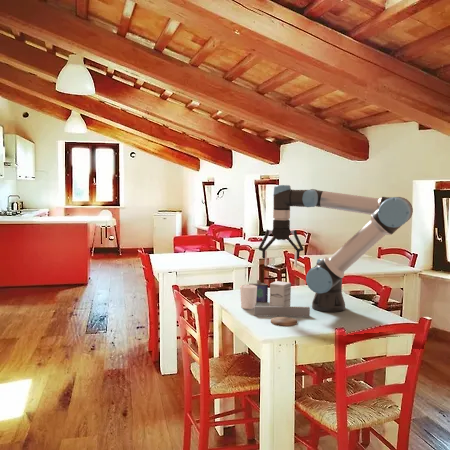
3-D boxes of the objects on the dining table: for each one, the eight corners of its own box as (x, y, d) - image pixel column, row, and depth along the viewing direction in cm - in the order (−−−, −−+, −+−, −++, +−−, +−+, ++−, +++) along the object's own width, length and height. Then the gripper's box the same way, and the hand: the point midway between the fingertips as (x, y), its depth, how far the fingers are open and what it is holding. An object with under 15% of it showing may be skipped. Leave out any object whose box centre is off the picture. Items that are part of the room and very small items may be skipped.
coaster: (299, 320, 211) (299, 318, 211) (293, 327, 201) (293, 325, 201) (274, 317, 215) (274, 315, 215) (267, 324, 205) (267, 322, 205)
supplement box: (268, 310, 227) (269, 283, 226) (276, 307, 233) (277, 280, 232) (283, 312, 223) (283, 285, 222) (290, 309, 229) (291, 282, 228)
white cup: (255, 309, 228) (255, 288, 227) (238, 309, 229) (238, 287, 229) (258, 305, 236) (258, 285, 235) (241, 304, 237) (241, 284, 236)
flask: (248, 302, 243) (248, 280, 242) (249, 300, 246) (249, 279, 245) (267, 303, 241) (267, 281, 240) (268, 301, 244) (268, 280, 243)
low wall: (309, 315, 218) (309, 306, 218) (309, 316, 217) (309, 307, 217) (254, 314, 219) (254, 306, 219) (254, 315, 218) (254, 306, 217)
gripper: (308, 219, 228) (307, 264, 230) (253, 218, 229) (252, 264, 231) (310, 220, 220) (309, 267, 222) (254, 219, 221) (253, 266, 223)
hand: (280, 265), depth 226 cm, fingers open, 13 cm apart
